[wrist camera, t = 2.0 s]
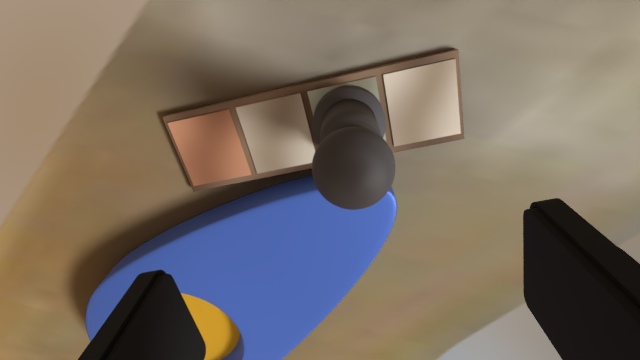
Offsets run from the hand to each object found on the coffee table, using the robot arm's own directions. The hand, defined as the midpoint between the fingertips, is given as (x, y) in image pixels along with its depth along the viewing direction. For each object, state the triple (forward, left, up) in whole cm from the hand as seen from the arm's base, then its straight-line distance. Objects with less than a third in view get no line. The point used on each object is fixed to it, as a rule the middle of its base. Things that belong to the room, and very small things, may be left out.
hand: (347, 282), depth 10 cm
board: (+2, 0, -14) cm, 14 cm away
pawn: (-1, 0, -13) cm, 13 cm away
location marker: (+9, +10, -14) cm, 19 cm away
